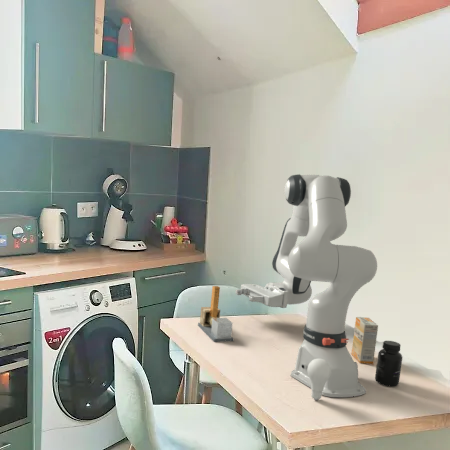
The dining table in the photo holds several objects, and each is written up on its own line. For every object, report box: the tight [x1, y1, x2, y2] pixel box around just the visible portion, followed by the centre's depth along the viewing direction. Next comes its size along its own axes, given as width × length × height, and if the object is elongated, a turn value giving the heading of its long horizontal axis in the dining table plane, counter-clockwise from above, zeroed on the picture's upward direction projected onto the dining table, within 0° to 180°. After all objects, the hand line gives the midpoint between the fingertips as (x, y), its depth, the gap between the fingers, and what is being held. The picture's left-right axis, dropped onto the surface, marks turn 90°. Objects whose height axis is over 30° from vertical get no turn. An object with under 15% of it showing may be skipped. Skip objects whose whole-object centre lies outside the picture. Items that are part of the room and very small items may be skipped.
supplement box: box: [351, 316, 379, 365], centre depth 171 cm, size 8×5×13 cm, turn 6°
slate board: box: [197, 322, 235, 343], centre depth 185 cm, size 18×7×1 cm, turn 21°
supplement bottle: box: [374, 340, 403, 388], centre depth 153 cm, size 7×7×12 cm
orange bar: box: [206, 285, 221, 326], centre depth 185 cm, size 10×4×14 cm, turn 21°
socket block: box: [199, 306, 221, 326], centre depth 190 cm, size 4×6×6 cm, turn 111°
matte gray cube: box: [211, 317, 233, 339], centre depth 179 cm, size 6×5×5 cm
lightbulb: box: [307, 358, 331, 401], centre depth 137 cm, size 6×6×11 cm
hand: (243, 295), depth 193 cm, fingers open, 8 cm apart
